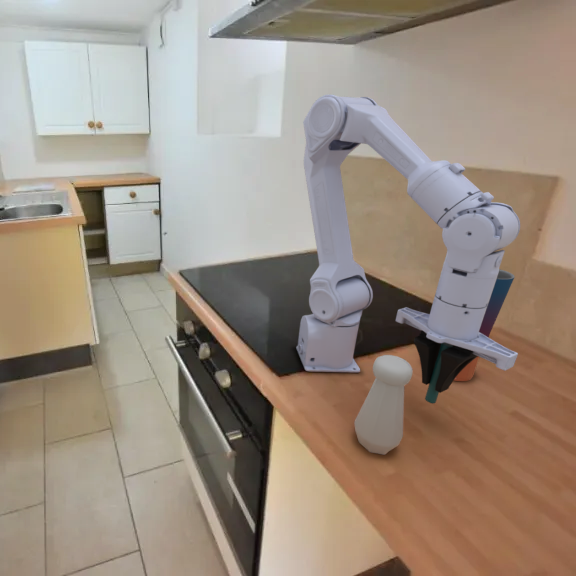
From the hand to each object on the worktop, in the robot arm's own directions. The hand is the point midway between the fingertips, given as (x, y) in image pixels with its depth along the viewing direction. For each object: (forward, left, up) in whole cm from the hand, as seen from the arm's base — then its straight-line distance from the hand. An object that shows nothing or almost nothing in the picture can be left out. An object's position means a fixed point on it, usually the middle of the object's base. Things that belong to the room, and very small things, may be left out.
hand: (434, 385), depth 54 cm
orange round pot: (+10, +12, -5) cm, 16 cm away
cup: (+19, +21, -5) cm, 29 cm away
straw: (0, 0, -3) cm, 3 cm away
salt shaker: (-10, -6, -5) cm, 13 cm away
